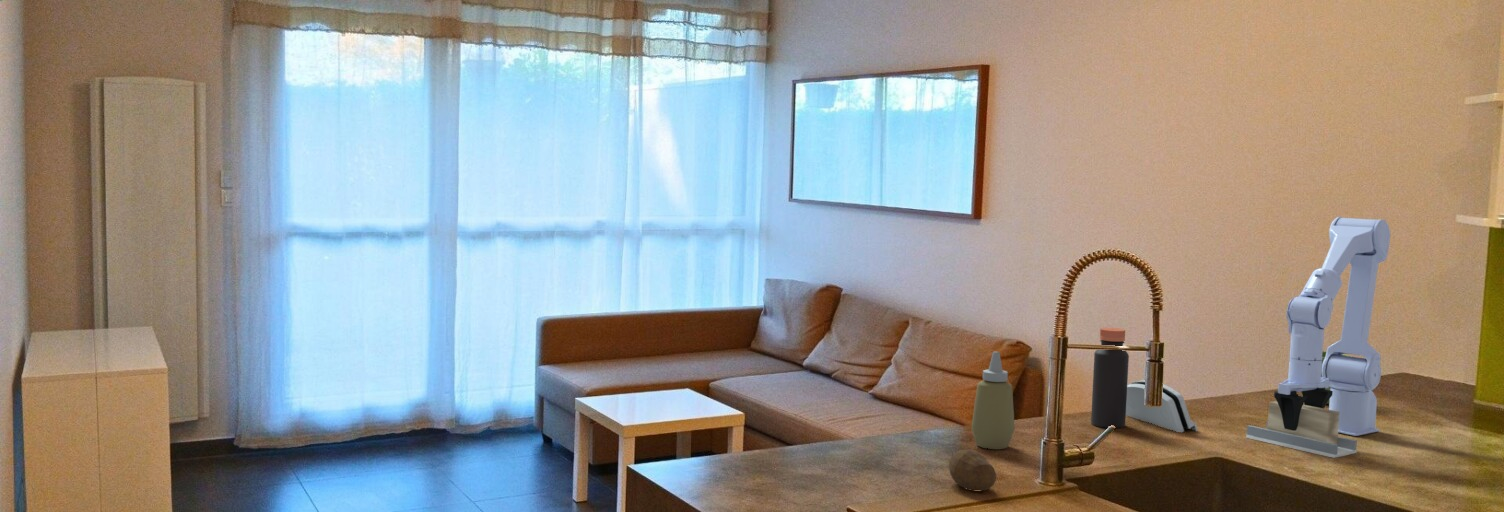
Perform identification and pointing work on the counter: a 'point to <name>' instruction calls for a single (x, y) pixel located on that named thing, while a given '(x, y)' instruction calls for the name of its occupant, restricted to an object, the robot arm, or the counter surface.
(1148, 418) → the light blue curved block
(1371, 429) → the robot arm
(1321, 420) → the door panel
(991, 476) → the potato
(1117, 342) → the dark grey water bottle
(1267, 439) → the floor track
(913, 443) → the counter surface
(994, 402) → the squeeze bottle
